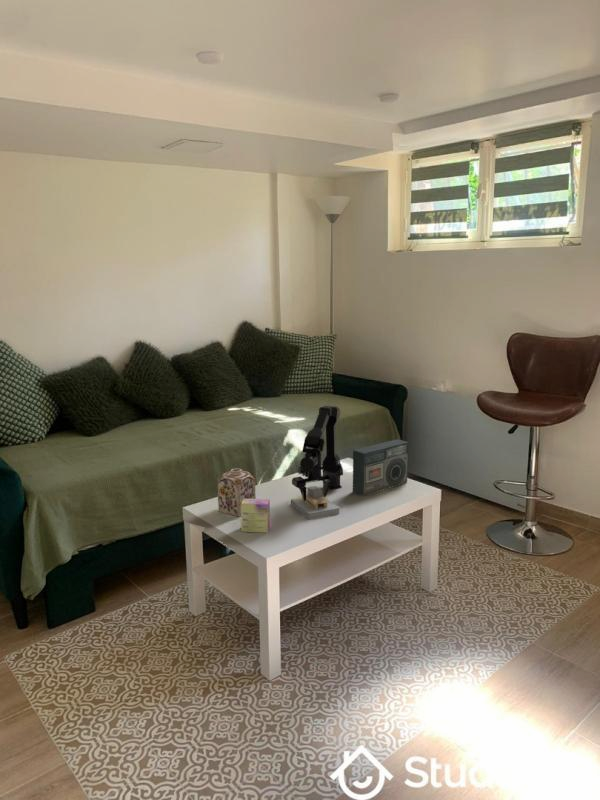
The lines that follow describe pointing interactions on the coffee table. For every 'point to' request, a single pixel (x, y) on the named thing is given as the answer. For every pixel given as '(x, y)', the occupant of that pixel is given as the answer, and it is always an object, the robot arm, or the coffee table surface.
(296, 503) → the dock
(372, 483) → the cassette player
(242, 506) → the box
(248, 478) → the decorative jar
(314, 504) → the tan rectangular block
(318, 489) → the gray rectangular block
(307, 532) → the coffee table surface
